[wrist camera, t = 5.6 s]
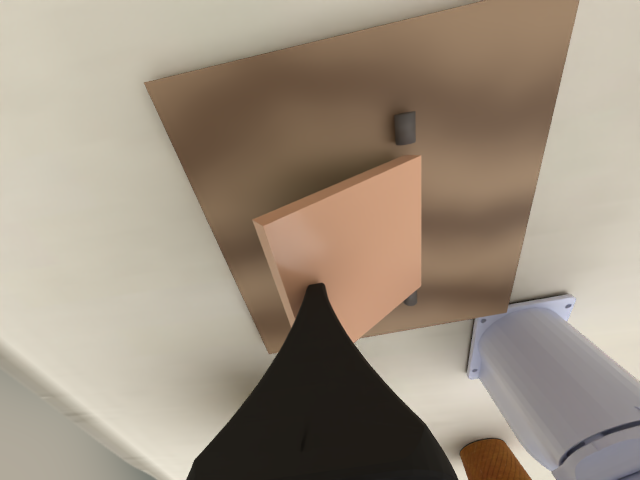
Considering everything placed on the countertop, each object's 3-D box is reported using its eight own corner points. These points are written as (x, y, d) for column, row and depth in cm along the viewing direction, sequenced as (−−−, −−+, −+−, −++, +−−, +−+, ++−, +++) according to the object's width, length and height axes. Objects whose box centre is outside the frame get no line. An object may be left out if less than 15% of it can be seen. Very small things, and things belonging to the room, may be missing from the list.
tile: (421, 286, 16) (314, 375, 12) (405, 278, 17) (302, 360, 13) (421, 155, 12) (263, 226, 8) (401, 154, 13) (250, 218, 9)
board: (498, 304, 21) (515, 322, 19) (270, 344, 22) (267, 364, 20) (563, -14, 11) (610, -37, 10) (155, 84, 12) (130, 80, 11)
